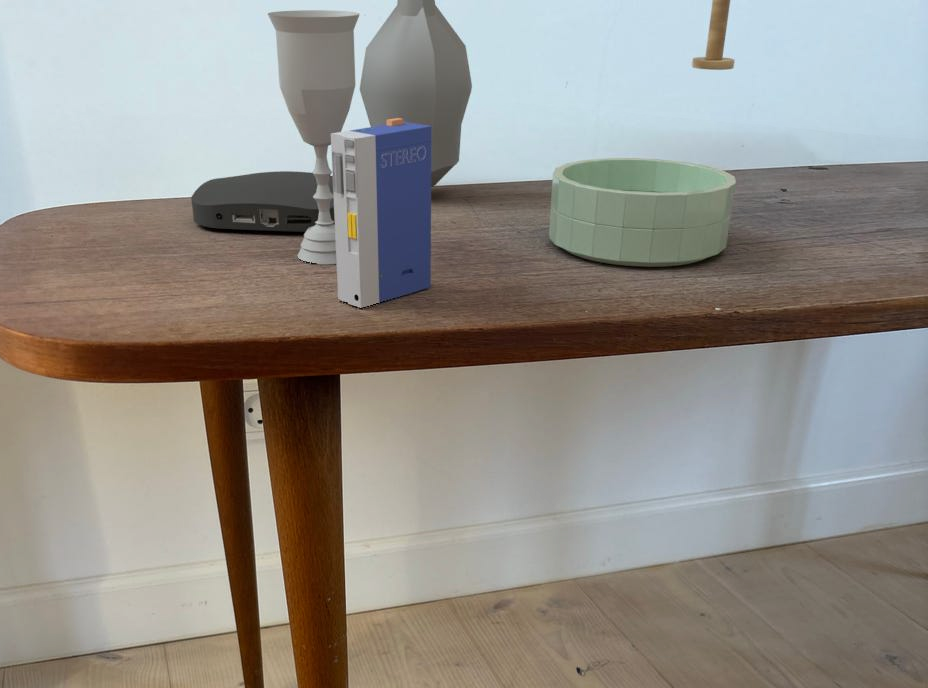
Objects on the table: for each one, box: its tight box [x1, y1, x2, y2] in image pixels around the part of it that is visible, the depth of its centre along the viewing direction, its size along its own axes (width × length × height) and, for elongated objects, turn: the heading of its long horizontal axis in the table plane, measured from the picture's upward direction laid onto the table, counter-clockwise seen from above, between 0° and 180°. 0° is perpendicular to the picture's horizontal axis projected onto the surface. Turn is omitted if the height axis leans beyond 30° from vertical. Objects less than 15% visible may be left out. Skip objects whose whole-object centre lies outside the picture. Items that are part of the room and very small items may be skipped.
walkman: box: [330, 118, 432, 308], centre depth 78 cm, size 8×3×12 cm, turn 138°
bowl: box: [548, 157, 737, 268], centre depth 93 cm, size 16×16×6 cm
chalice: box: [267, 9, 360, 265], centre depth 85 cm, size 7×7×18 cm
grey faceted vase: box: [359, 0, 473, 188], centre depth 102 cm, size 11×11×30 cm
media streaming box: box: [190, 170, 335, 233], centre depth 101 cm, size 15×15×3 cm
